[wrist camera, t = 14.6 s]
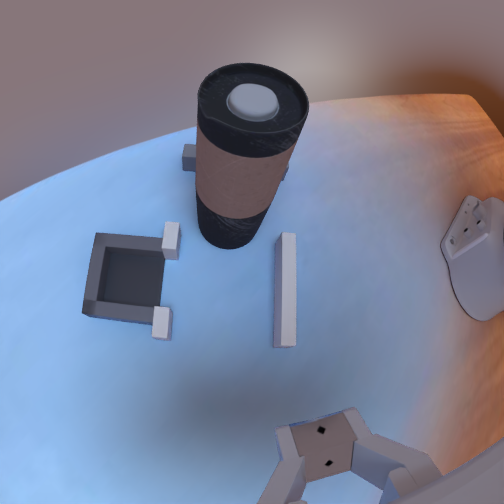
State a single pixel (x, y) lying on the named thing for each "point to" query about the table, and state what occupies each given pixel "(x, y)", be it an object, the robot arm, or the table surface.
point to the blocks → (283, 288)
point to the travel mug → (243, 147)
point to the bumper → (190, 159)
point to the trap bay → (124, 278)
